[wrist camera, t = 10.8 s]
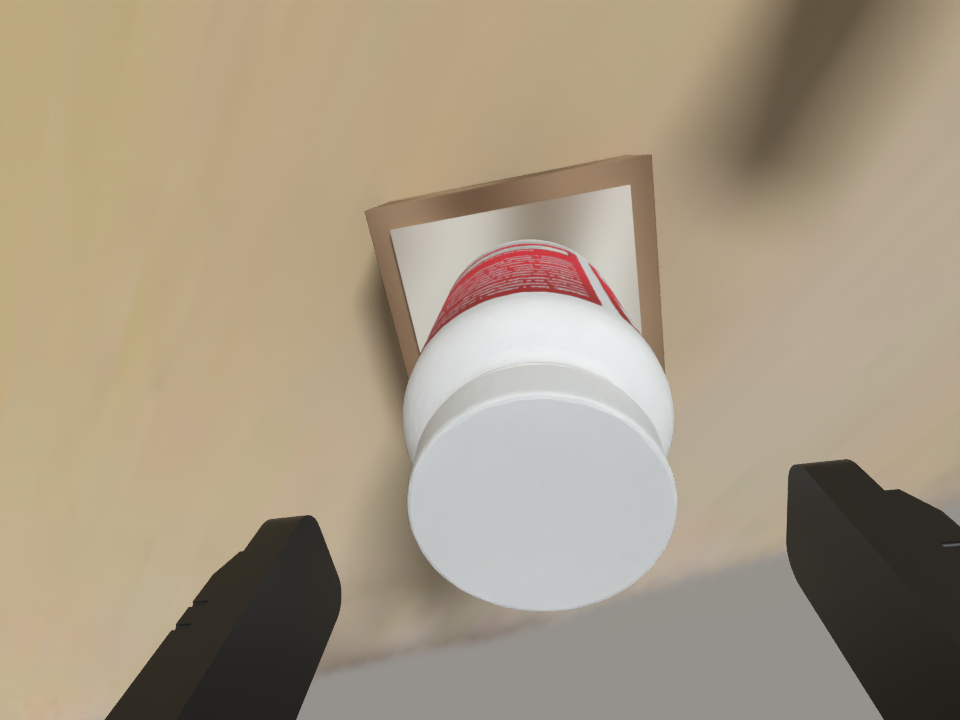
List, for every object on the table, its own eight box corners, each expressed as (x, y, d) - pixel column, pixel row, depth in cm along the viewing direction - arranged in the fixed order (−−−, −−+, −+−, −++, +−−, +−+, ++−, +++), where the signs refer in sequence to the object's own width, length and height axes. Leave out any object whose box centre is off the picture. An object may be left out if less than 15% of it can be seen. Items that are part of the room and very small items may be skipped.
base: (627, 154, 20) (653, 154, 16) (645, 378, 24) (669, 422, 20) (390, 201, 22) (362, 212, 18) (440, 406, 25) (426, 452, 21)
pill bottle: (416, 337, 19) (301, 540, 9) (508, 200, 17) (492, 266, 7) (546, 422, 20) (572, 689, 10) (648, 301, 18) (810, 488, 8)
